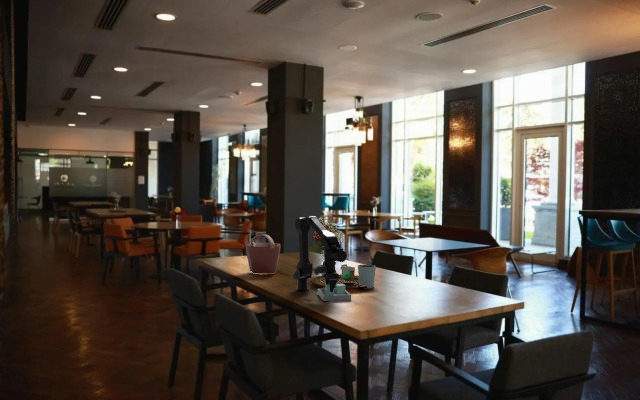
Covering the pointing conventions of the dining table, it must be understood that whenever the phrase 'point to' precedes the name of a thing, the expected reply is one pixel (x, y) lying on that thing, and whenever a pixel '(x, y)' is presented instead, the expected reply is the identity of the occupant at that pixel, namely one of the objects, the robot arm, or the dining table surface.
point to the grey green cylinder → (366, 275)
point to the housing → (335, 294)
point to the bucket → (263, 255)
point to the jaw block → (328, 290)
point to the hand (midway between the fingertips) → (329, 290)
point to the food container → (347, 272)
